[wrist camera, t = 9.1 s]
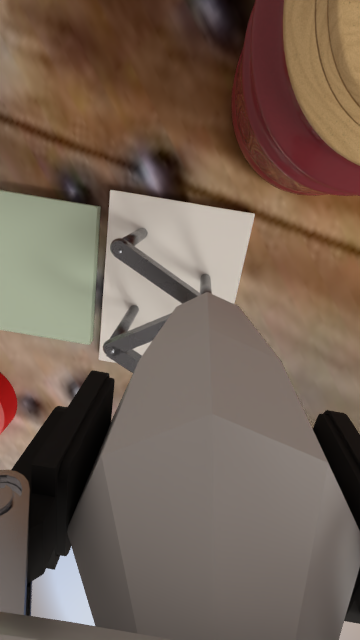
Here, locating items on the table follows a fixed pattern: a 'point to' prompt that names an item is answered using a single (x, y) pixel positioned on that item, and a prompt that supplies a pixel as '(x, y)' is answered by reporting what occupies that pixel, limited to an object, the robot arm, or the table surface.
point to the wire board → (170, 255)
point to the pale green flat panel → (48, 266)
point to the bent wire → (123, 339)
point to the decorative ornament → (6, 403)
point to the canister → (301, 95)
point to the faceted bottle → (214, 496)
